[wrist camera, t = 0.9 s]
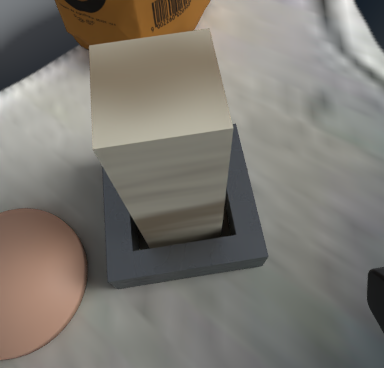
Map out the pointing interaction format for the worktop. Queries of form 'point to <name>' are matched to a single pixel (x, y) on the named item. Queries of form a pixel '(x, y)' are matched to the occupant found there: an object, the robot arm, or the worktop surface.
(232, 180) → the post holder
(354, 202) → the worktop surface
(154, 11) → the coffee package
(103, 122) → the post
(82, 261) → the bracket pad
